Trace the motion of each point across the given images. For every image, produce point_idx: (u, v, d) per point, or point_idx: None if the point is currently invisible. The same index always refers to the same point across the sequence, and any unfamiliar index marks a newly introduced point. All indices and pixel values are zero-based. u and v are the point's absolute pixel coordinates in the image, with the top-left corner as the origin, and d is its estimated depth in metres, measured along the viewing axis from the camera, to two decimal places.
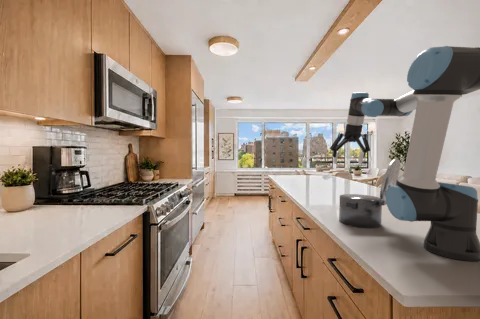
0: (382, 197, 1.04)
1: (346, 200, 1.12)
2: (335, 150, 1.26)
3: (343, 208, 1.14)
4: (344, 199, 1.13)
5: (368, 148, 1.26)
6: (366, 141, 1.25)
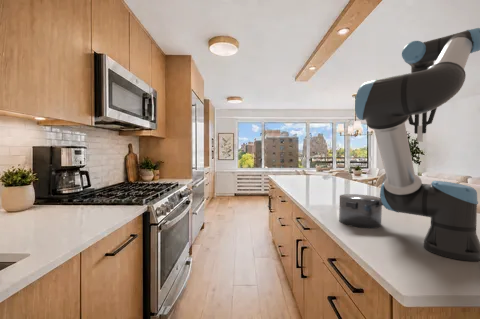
0: None
1: (346, 200, 1.12)
2: (414, 124, 1.02)
3: (343, 208, 1.14)
4: (344, 199, 1.13)
5: (430, 119, 0.99)
6: (433, 109, 0.98)
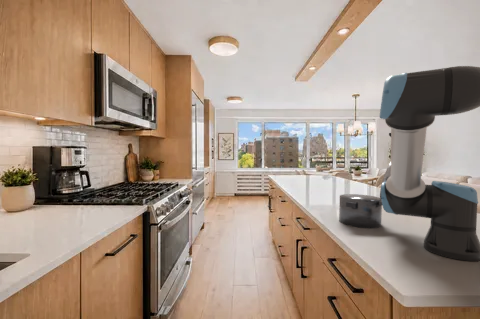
0: None
1: (346, 200, 1.12)
2: None
3: (343, 208, 1.14)
4: (344, 199, 1.13)
5: None
6: None
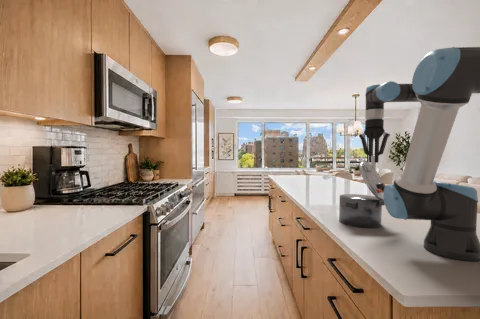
0: (377, 195, 1.05)
1: (346, 200, 1.12)
2: (369, 154, 1.15)
3: (343, 208, 1.14)
4: (344, 199, 1.13)
5: (380, 150, 1.11)
6: (383, 141, 1.11)
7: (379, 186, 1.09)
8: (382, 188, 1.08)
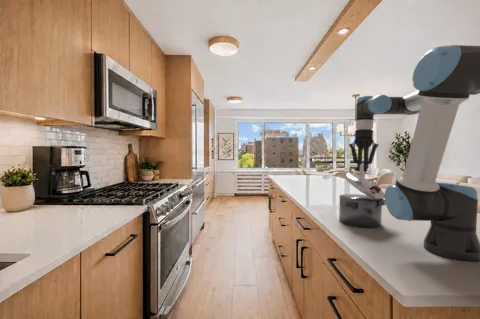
0: (375, 196, 1.06)
1: (346, 200, 1.12)
2: (357, 163, 1.18)
3: (343, 208, 1.14)
4: (344, 199, 1.13)
5: (369, 160, 1.15)
6: (372, 152, 1.14)
7: (372, 188, 1.11)
8: (375, 188, 1.09)
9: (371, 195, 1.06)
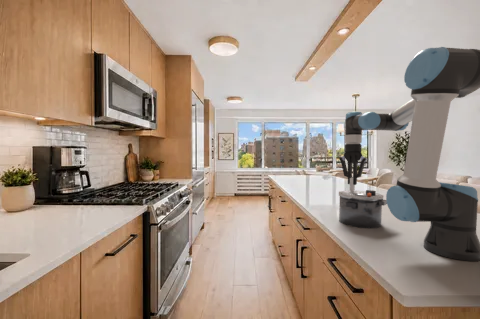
0: (372, 198, 1.07)
1: (346, 200, 1.12)
2: (347, 176, 1.22)
3: (343, 208, 1.14)
4: (344, 199, 1.13)
5: (358, 174, 1.18)
6: (360, 165, 1.17)
7: None
8: (370, 192, 1.11)
9: (369, 199, 1.06)
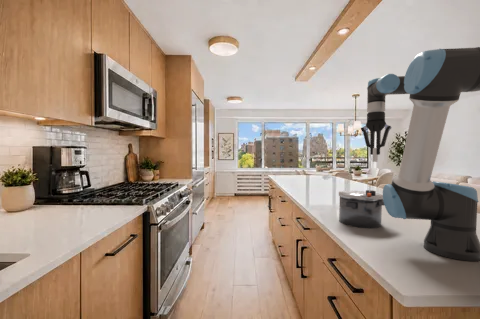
0: (372, 198, 1.07)
1: (346, 200, 1.12)
2: (370, 146, 1.17)
3: (343, 208, 1.14)
4: (344, 199, 1.13)
5: (382, 142, 1.14)
6: (385, 134, 1.13)
7: (367, 193, 1.12)
8: (370, 192, 1.11)
9: (369, 199, 1.07)
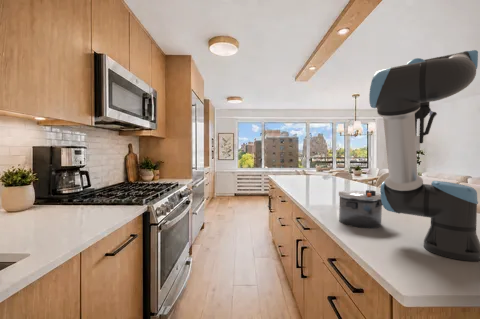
0: (372, 198, 1.07)
1: (346, 200, 1.12)
2: None
3: (343, 208, 1.14)
4: (344, 199, 1.13)
5: (426, 130, 1.07)
6: (430, 121, 1.06)
7: (367, 193, 1.12)
8: (370, 192, 1.11)
9: (369, 199, 1.07)
